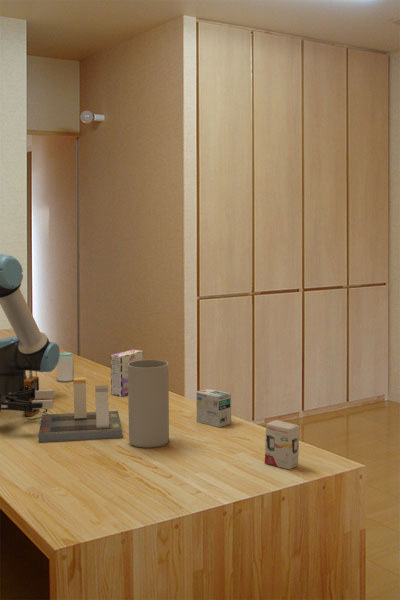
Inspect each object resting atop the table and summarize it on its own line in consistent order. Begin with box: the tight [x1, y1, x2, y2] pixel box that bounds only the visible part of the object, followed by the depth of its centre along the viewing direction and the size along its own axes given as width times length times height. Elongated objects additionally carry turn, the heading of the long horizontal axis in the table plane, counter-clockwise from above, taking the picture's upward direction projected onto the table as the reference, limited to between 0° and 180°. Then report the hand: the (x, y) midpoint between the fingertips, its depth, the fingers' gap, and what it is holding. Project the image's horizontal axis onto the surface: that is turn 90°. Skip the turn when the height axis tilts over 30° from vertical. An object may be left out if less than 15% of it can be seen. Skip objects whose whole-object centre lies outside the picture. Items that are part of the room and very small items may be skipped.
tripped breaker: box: [73, 376, 87, 419], centre depth 236 cm, size 4×4×13 cm
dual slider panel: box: [38, 384, 123, 444], centre depth 231 cm, size 23×26×16 cm
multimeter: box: [23, 358, 49, 421], centre depth 249 cm, size 15×10×20 cm
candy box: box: [110, 349, 144, 398], centre depth 280 cm, size 14×6×16 cm, turn 144°
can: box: [56, 351, 75, 383], centre depth 302 cm, size 7×7×12 cm
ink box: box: [264, 419, 301, 470], centre depth 197 cm, size 9×5×12 cm, turn 50°
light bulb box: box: [195, 388, 232, 428], centre depth 238 cm, size 11×7×11 cm, turn 47°
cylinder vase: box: [127, 359, 170, 449], centre depth 217 cm, size 12×12×25 cm
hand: (53, 398), depth 234 cm, fingers open, 13 cm apart
